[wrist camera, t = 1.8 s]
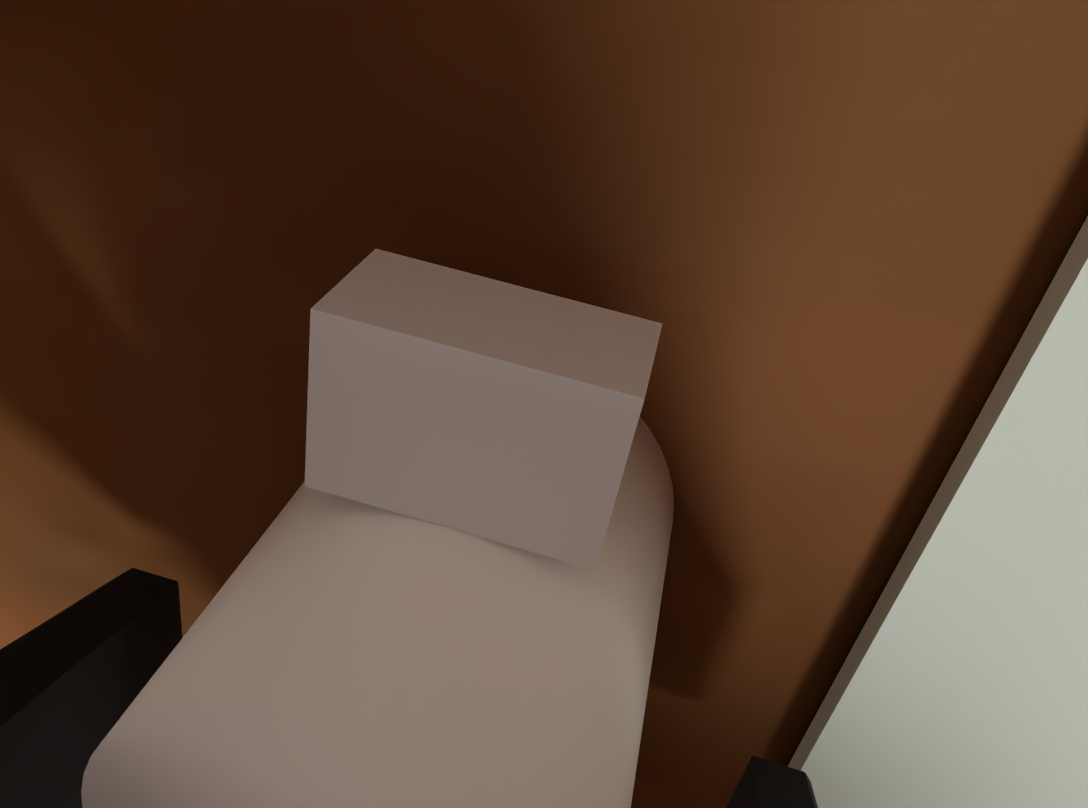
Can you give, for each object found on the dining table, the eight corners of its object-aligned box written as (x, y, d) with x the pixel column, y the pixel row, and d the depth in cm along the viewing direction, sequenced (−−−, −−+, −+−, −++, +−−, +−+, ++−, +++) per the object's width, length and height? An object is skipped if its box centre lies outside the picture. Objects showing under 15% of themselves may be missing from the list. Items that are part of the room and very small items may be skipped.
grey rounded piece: (559, 857, 14) (472, 1270, 10) (328, 783, 14) (148, 1150, 10) (763, 261, 8) (760, 637, 4) (372, 163, 9) (5, 419, 4)
